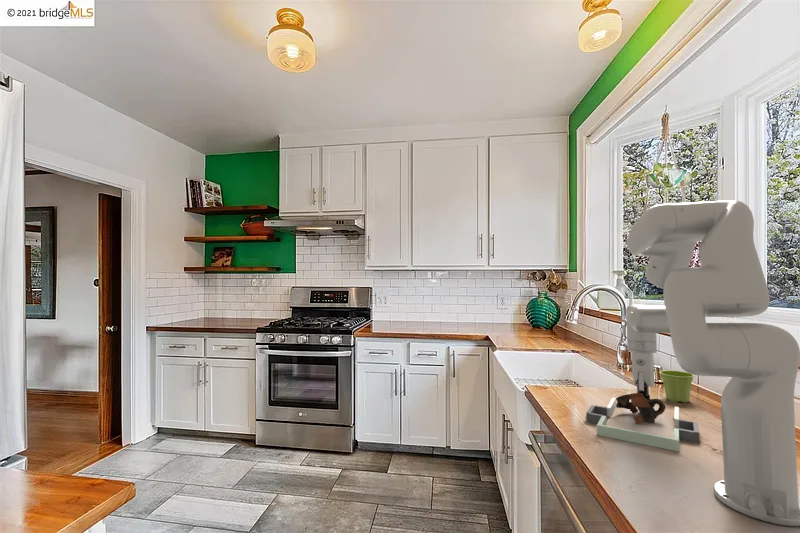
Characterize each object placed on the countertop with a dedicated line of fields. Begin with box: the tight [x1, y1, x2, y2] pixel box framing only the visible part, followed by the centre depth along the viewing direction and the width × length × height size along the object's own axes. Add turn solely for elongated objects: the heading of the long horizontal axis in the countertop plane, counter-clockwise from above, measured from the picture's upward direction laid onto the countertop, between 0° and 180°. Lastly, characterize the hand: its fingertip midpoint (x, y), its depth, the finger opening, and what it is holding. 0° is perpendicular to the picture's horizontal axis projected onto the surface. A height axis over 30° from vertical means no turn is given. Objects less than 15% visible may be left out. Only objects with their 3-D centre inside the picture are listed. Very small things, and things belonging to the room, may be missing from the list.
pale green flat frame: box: [585, 396, 701, 453], centre depth 105 cm, size 28×25×2 cm
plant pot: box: [658, 369, 695, 403], centre depth 126 cm, size 9×9×9 cm
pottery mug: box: [615, 392, 666, 425], centre depth 109 cm, size 12×10×8 cm
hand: (643, 407), depth 114 cm, fingers closed
